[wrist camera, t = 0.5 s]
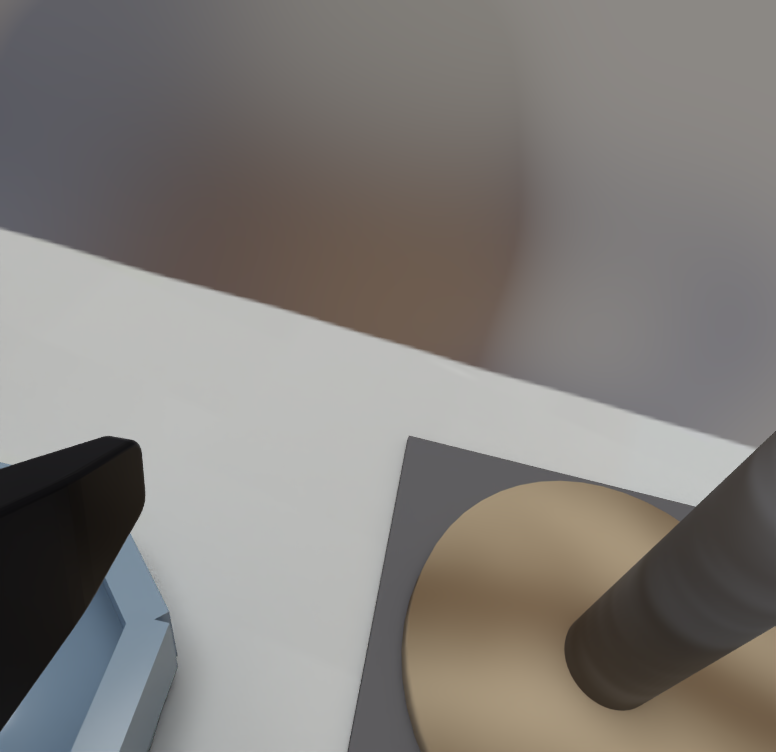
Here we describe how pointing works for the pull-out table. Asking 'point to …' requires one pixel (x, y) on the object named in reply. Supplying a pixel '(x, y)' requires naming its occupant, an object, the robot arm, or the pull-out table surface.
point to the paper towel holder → (599, 622)
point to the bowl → (103, 672)
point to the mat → (408, 556)
